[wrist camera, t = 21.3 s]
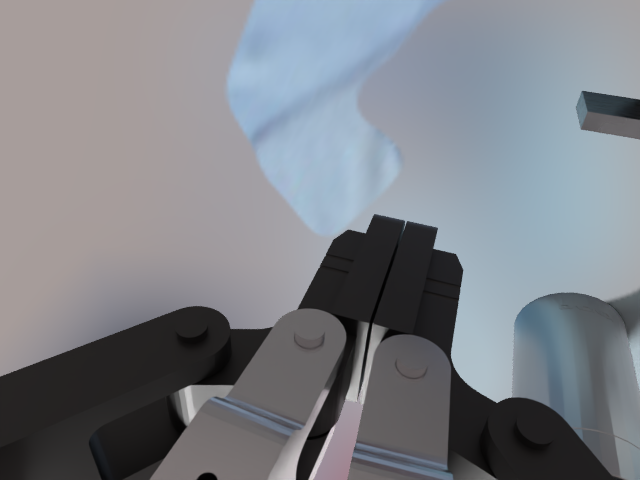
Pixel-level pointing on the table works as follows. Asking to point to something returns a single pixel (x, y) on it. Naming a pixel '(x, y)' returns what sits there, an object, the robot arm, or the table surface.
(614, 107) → the bracket
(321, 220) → the table surface
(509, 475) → the robot arm
